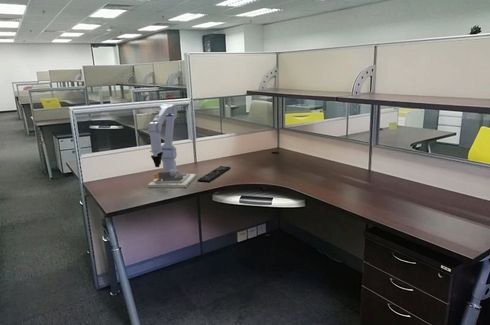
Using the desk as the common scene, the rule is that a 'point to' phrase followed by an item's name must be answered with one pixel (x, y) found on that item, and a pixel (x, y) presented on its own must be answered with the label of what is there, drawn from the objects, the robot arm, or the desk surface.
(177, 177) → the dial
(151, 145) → the robot arm
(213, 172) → the black keyboard
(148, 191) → the desk surface
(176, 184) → the white base plate
